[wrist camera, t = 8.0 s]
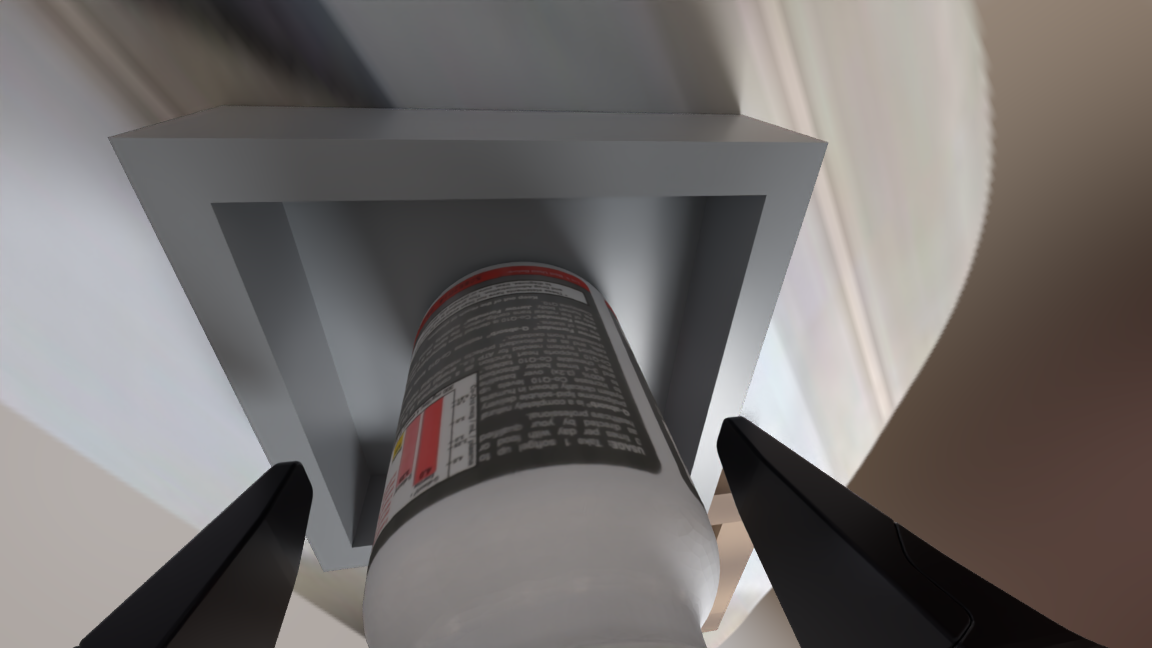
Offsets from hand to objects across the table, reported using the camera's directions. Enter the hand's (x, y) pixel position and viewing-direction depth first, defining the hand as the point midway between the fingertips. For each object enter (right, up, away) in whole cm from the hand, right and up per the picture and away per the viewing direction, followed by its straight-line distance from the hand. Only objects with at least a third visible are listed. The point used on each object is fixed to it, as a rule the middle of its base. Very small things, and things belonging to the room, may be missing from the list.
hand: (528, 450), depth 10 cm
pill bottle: (-1, +2, +3) cm, 4 cm away
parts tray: (-1, +3, +4) cm, 5 cm away
